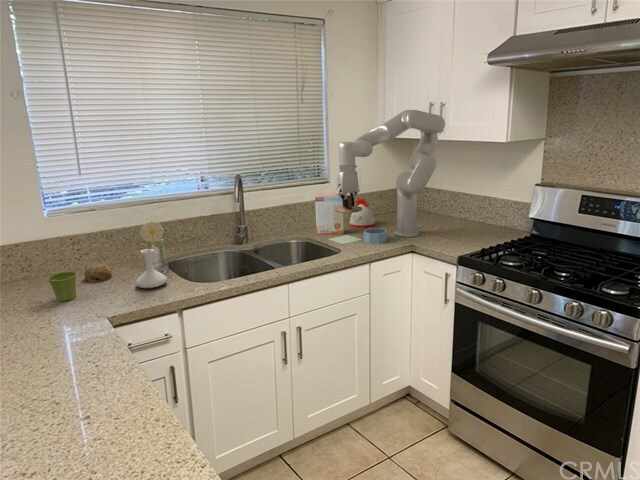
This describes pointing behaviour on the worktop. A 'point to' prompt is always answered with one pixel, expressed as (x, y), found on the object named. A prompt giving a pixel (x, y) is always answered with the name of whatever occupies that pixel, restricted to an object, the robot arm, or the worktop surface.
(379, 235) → the bowl
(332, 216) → the cracker box
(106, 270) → the bread roll
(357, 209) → the lid
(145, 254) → the flower in vase
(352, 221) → the kitchen timer
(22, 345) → the worktop surface
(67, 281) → the plant pot
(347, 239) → the mat
